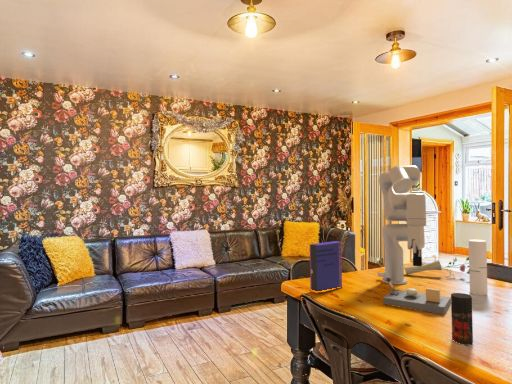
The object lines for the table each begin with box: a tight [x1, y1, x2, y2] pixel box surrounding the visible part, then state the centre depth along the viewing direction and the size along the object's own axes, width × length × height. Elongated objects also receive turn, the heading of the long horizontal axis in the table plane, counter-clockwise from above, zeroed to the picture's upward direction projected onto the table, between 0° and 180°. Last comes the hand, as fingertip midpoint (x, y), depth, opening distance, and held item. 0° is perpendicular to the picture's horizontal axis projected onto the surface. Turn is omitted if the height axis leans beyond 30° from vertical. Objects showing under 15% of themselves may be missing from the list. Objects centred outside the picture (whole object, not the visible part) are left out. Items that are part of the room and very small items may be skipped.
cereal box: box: [309, 240, 343, 291], centre depth 180 cm, size 17×5×24 cm, turn 123°
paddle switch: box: [425, 287, 441, 303], centre depth 148 cm, size 5×2×5 cm, turn 53°
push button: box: [405, 287, 418, 296], centre depth 155 cm, size 4×4×2 cm
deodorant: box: [450, 292, 474, 345], centre depth 116 cm, size 6×6×15 cm
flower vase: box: [404, 256, 469, 278], centre depth 202 cm, size 12×12×35 cm
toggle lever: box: [386, 277, 395, 291], centre depth 161 cm, size 2×2×6 cm
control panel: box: [382, 288, 451, 316], centre depth 154 cm, size 24×16×4 cm, turn 53°
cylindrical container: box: [468, 239, 488, 296], centre depth 169 cm, size 7×7×25 cm
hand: (417, 265), depth 150 cm, fingers closed
